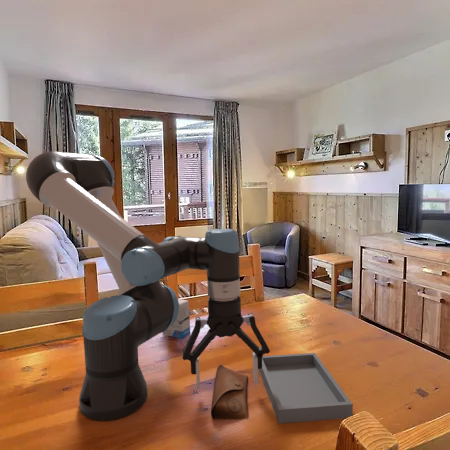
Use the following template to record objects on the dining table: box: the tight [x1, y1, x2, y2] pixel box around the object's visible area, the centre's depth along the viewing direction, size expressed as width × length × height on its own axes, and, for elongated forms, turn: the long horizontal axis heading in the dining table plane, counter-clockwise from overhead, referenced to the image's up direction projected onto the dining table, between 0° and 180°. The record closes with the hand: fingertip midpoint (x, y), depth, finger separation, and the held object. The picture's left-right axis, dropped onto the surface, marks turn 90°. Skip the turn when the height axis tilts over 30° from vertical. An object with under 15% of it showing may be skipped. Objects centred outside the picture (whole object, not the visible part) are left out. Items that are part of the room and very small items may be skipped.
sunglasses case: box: [210, 364, 249, 421], centre depth 84 cm, size 18×7×7 cm
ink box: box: [162, 298, 191, 340], centre depth 118 cm, size 9×5×12 cm, turn 58°
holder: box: [258, 352, 354, 424], centre depth 86 cm, size 16×23×3 cm
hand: (227, 383), depth 84 cm, fingers open, 13 cm apart
